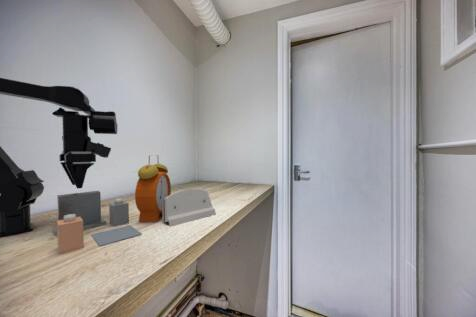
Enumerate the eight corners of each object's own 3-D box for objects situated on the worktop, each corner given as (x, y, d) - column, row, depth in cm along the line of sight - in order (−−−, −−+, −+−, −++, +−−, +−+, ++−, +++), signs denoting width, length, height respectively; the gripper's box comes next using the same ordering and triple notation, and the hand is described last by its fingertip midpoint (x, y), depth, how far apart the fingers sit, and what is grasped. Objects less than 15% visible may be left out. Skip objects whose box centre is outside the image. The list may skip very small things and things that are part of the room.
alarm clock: (155, 223, 58) (154, 155, 58) (134, 223, 58) (133, 155, 58) (171, 210, 71) (171, 155, 71) (154, 210, 72) (154, 155, 71)
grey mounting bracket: (168, 226, 56) (163, 191, 58) (162, 228, 59) (157, 194, 61) (216, 214, 67) (210, 185, 69) (209, 215, 70) (203, 188, 73)
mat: (91, 235, 50) (91, 234, 50) (129, 225, 57) (129, 225, 57) (99, 246, 44) (99, 245, 44) (141, 234, 50) (141, 233, 50)
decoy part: (109, 223, 59) (109, 199, 59) (124, 220, 62) (124, 197, 61) (113, 226, 56) (112, 201, 56) (128, 223, 59) (128, 199, 59)
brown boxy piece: (57, 248, 44) (56, 215, 43) (80, 242, 46) (79, 211, 46) (59, 254, 41) (58, 219, 41) (83, 247, 44) (82, 215, 43)
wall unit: (53, 230, 53) (52, 195, 53) (101, 220, 61) (101, 189, 61) (54, 236, 50) (53, 198, 50) (106, 224, 58) (105, 191, 57)
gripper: (116, 132, 57) (117, 186, 58) (101, 136, 70) (102, 180, 71) (65, 129, 49) (67, 192, 50) (58, 134, 62) (59, 184, 63)
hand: (77, 186), depth 58 cm, fingers open, 9 cm apart
